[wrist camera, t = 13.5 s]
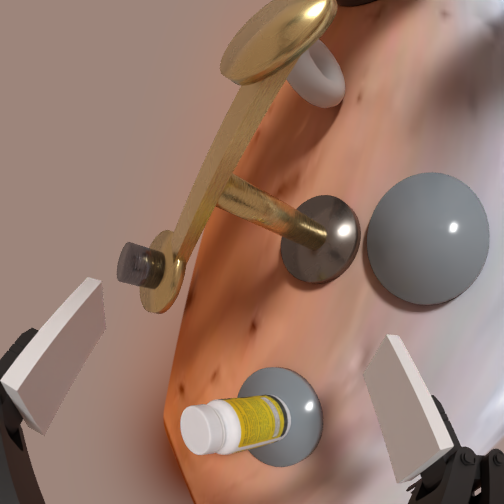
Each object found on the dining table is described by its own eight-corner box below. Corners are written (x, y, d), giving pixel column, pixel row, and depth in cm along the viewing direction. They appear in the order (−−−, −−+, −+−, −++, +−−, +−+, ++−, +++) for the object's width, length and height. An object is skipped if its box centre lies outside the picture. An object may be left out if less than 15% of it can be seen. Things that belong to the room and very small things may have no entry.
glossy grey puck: (351, 228, 24) (347, 224, 23) (436, 155, 19) (434, 150, 18) (406, 331, 18) (403, 331, 17) (513, 250, 13) (514, 246, 13)
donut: (325, 73, 31) (272, 24, 25) (347, 64, 29) (295, 10, 22) (326, 129, 29) (263, 73, 22) (354, 120, 26) (292, 56, 20)
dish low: (231, 385, 29) (226, 385, 28) (302, 350, 24) (296, 350, 24) (255, 469, 23) (249, 471, 23) (337, 454, 18) (332, 457, 18)
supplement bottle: (272, 383, 24) (194, 388, 19) (302, 422, 21) (223, 441, 15) (246, 413, 25) (171, 421, 20) (271, 450, 22) (194, 469, 16)
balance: (224, 280, 34) (90, 242, 24) (402, 124, 22) (286, -17, 11) (240, 342, 30) (84, 320, 19) (459, 179, 17) (361, -12, 6)
